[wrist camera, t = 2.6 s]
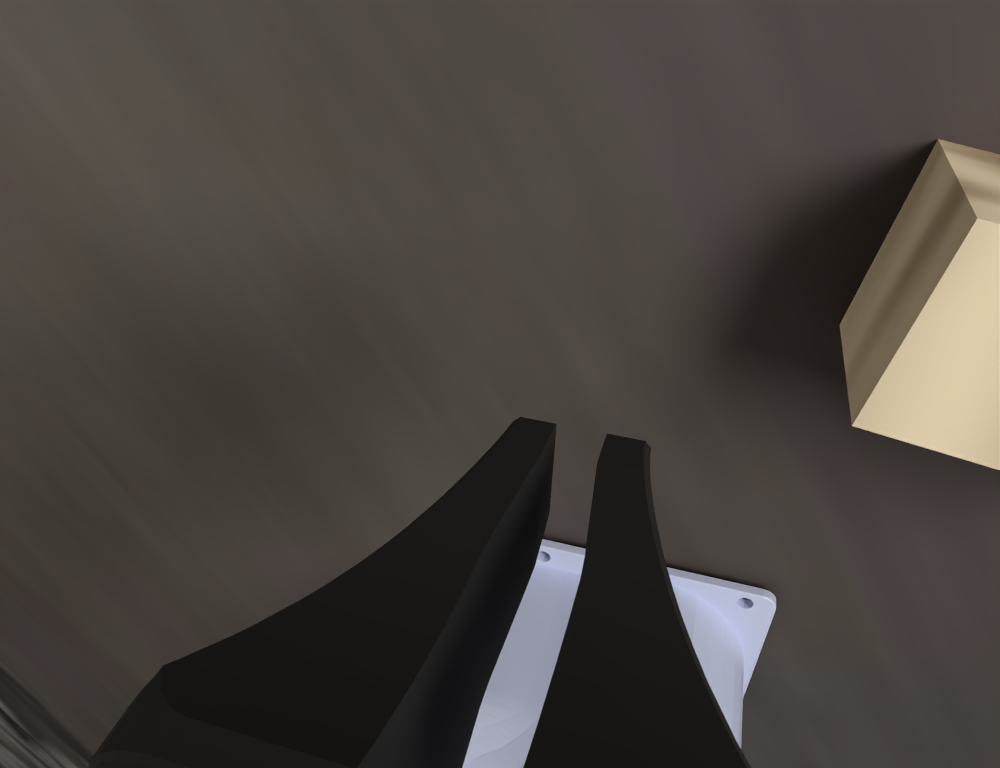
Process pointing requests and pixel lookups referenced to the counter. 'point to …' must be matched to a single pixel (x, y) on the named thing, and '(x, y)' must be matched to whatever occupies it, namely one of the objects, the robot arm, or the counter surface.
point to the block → (933, 314)
